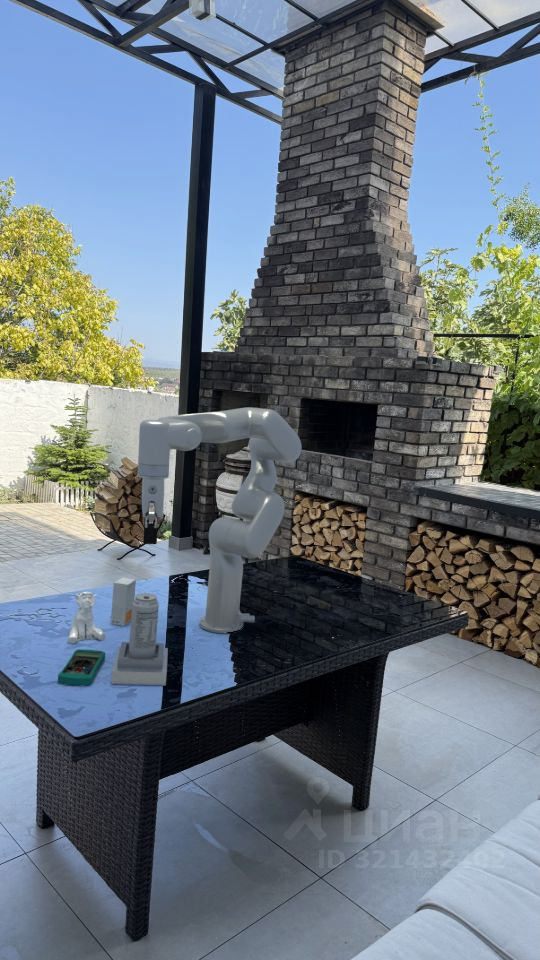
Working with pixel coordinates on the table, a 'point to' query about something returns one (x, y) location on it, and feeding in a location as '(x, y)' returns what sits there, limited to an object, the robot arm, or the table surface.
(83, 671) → the digital multimeter
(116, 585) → the skincare box
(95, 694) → the table surface
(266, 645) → the table surface
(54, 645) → the table surface
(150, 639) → the energy drink can
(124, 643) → the white square stepped base
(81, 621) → the white animal figurine
